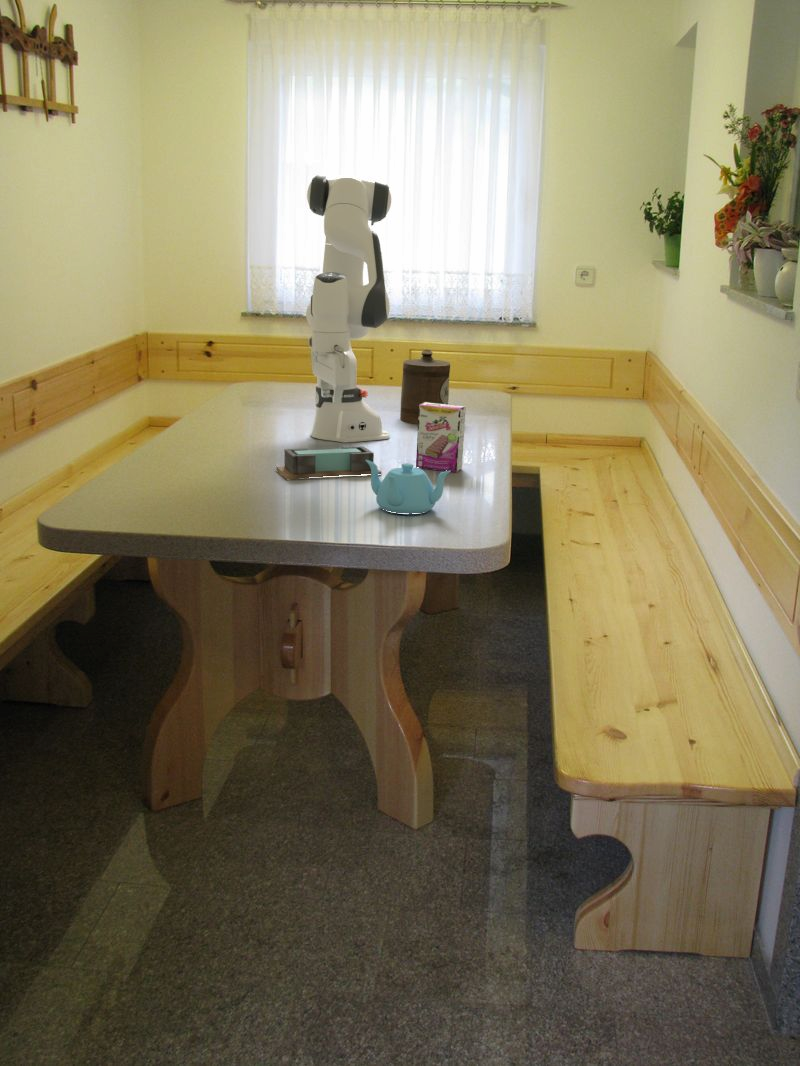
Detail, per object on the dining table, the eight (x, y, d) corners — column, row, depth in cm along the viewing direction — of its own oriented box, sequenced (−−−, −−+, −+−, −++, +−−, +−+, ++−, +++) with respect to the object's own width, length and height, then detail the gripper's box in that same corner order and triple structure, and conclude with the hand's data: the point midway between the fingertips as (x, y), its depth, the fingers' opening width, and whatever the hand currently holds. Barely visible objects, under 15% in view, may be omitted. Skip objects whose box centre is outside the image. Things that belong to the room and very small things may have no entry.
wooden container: (453, 424, 341) (457, 352, 335) (408, 425, 337) (410, 352, 331) (438, 415, 355) (442, 346, 349) (394, 416, 351) (397, 346, 344)
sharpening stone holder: (368, 466, 281) (368, 445, 279) (381, 475, 272) (382, 453, 270) (276, 470, 273) (276, 448, 271) (286, 480, 264) (286, 457, 262)
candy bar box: (415, 468, 281) (417, 404, 276) (421, 464, 285) (423, 401, 281) (457, 473, 277) (460, 408, 273) (462, 469, 282) (466, 405, 277)
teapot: (424, 499, 251) (426, 455, 248) (451, 516, 238) (453, 470, 235) (363, 503, 246) (364, 458, 243) (387, 521, 233) (389, 473, 230)
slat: (355, 465, 277) (356, 448, 275) (360, 469, 273) (361, 451, 272) (293, 468, 271) (294, 450, 270) (298, 472, 267) (298, 454, 266)
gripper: (357, 348, 255) (357, 407, 259) (331, 337, 273) (331, 392, 277) (331, 349, 253) (331, 408, 257) (306, 338, 271) (307, 394, 275)
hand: (331, 400), depth 267 cm, fingers open, 8 cm apart
